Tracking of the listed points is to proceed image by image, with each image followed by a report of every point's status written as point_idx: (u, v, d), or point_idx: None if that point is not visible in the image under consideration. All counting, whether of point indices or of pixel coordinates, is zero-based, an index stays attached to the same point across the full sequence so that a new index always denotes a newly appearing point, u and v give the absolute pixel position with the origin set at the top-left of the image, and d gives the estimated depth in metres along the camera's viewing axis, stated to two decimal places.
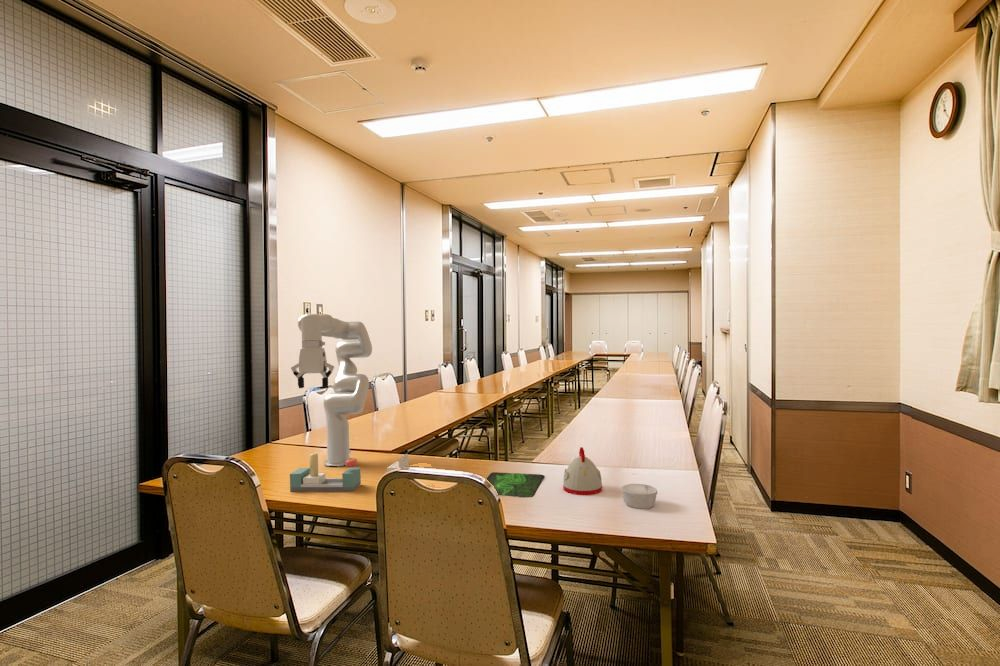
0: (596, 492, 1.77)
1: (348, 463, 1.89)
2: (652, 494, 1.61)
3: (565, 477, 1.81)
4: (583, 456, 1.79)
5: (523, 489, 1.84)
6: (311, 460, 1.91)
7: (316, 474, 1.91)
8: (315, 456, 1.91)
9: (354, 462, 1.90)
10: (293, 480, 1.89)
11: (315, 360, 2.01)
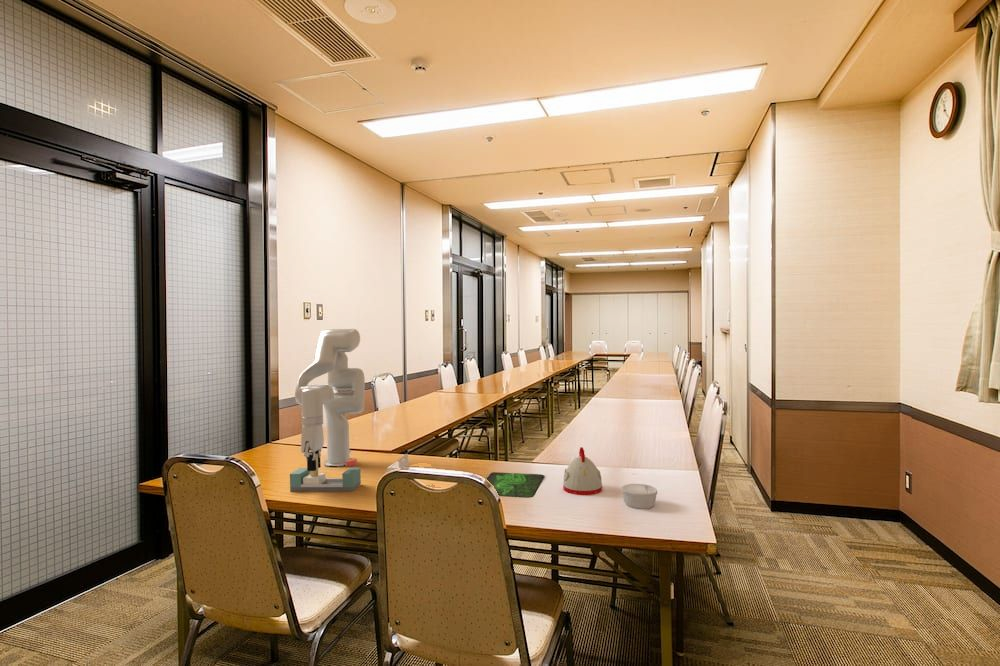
0: (596, 492, 1.77)
1: (348, 463, 1.89)
2: (652, 494, 1.61)
3: (565, 477, 1.81)
4: (583, 456, 1.79)
5: (523, 489, 1.84)
6: None
7: (316, 474, 1.91)
8: (315, 456, 1.91)
9: (354, 462, 1.90)
10: (293, 480, 1.89)
11: (321, 435, 1.94)
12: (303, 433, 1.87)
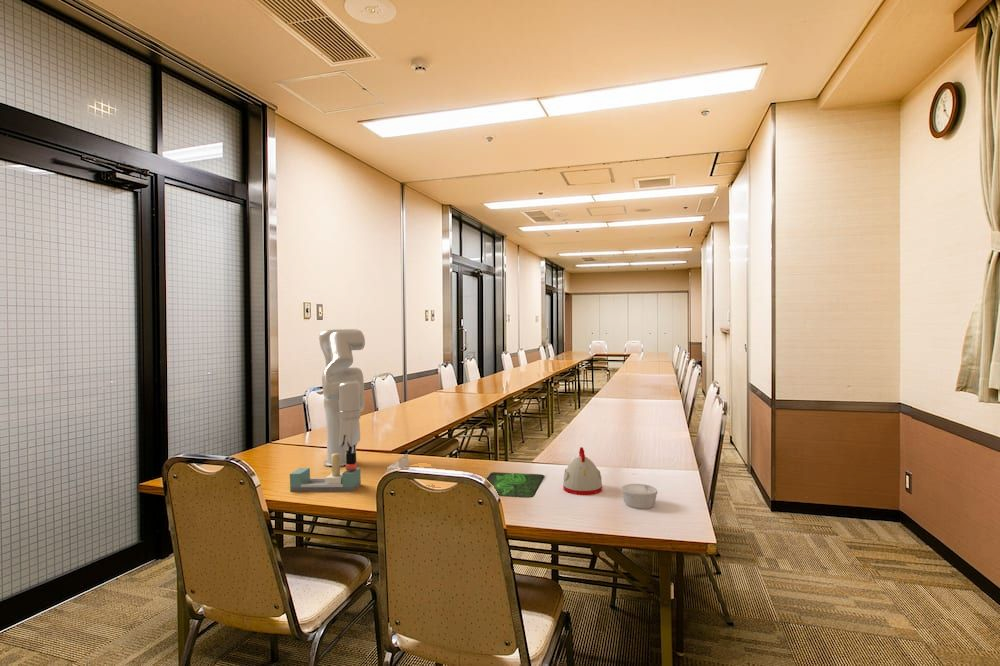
0: (596, 492, 1.77)
1: (348, 466, 1.89)
2: (652, 494, 1.61)
3: (565, 477, 1.81)
4: (583, 456, 1.79)
5: (523, 489, 1.84)
6: (333, 460, 1.90)
7: (338, 474, 1.91)
8: (337, 456, 1.91)
9: (354, 465, 1.90)
10: (293, 480, 1.89)
11: (358, 429, 1.93)
12: (341, 427, 1.86)
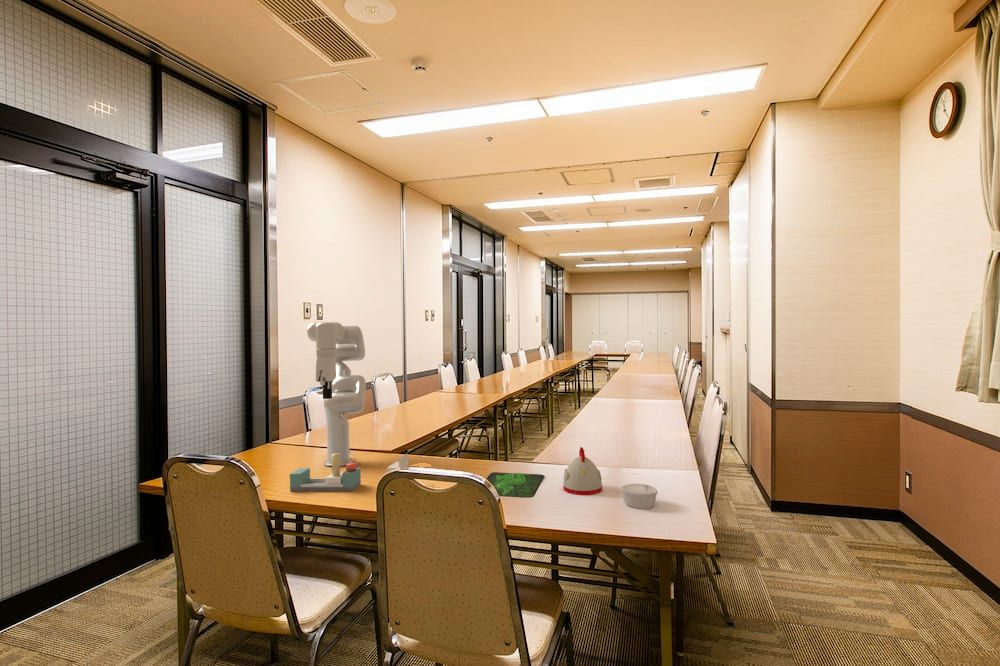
0: (596, 492, 1.77)
1: (348, 466, 1.89)
2: (652, 494, 1.61)
3: (565, 477, 1.81)
4: (583, 456, 1.79)
5: (523, 489, 1.84)
6: (333, 460, 1.90)
7: (338, 474, 1.91)
8: (337, 456, 1.91)
9: (354, 465, 1.90)
10: (293, 480, 1.89)
11: (334, 367, 2.07)
12: (318, 363, 2.00)
